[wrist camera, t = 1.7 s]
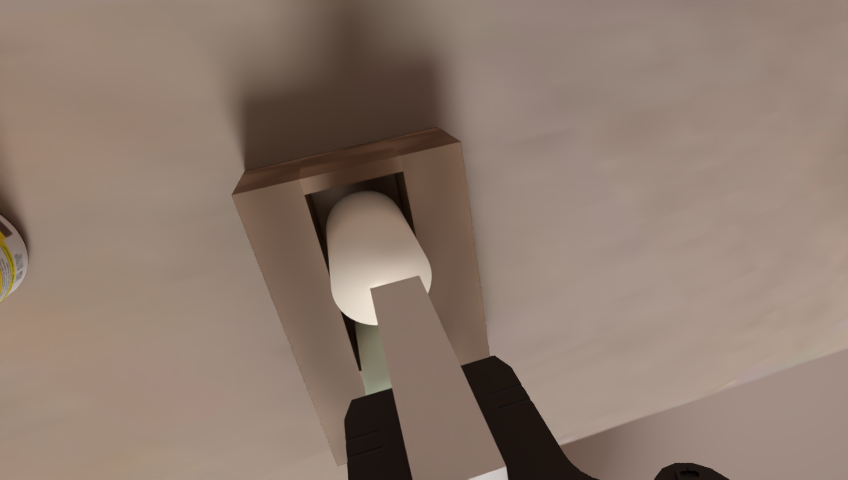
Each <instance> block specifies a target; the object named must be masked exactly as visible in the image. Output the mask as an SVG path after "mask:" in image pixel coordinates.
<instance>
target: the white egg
mask: <svg viewBox="0 0 848 480" xmlns="http://www.w3.org/2000/svg"><path fill="white" fill-rule="evenodd" d="M326 234H327V246H328V257H329V269H330V280H331V291H332V295H333V298H334V301H335V303H336V304H337V306H338V307H339V309H340V310H341V311H342V312H343V313H344V314H345V315H347V316H348V317H350V318H351V319H353V320H355V321H357V322H360V323H363V324H368V325H378V323H377V318H376V314H375V309H374V305H373V300H372V296H371V291H370V288H374V287H378V286H381V285H385V284H389V283H392V282H396V281H400V280H404V279H407V278H411V277H415V276H418V275H419V276H420V278H421V280H422V282H423V285H424V287H425V289H426V291H427V293H428V292H429V289H430V286H431V279H432V273H431V267H430V264H429V261H428V259H427V257H426V255H425V253H424V252H423V250H422V248H421V246H420V245H419V243H418V241H417V239H416V237H415V236H414V234H413V232H412V230H411V228H410V227H409V225H408V223H407V221H406V219H405V218H404V216H403V214H402V212H401V211H400V209H399V207H398V206H397V204H396V203H395V202H394V201H393V200H392V199H391V198H389V197H388V196H386V195H384V194H382V193H379V192H376V191H368V190H365V191H357V192H354V193H351V194H348V195H346V196H345V197H343V198H342V199H340V200H339V201H338V202H337V203H336V204H335V205H334V207H333V208H332V209H331V211H330V213H329V215H328V218H327V223H326Z"/></svg>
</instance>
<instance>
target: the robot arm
mask: <svg viewBox="0 0 848 480" xmlns="http://www.w3.org/2000/svg"><path fill="white" fill-rule="evenodd" d="M370 291H371V296H372V300H373V305H374V309H375V314H376V318H377V323H378V327H379V332H380V336H381V341H382V345H383V349H384V354H385V358H386V363H387V367H388V372H389V376H390V381H391V385H392V388H389V389H386V390H383V391H379V392H376V393H373V394H369V395H366V396H363V397H360V398H356V399H353V400H351V403H350V405H349V408H348V410H347V413H346V416H345V418H344V427H345V440H346V454H347V467H348V480H598V479H596V478H592V477H591V476H588V475H587V474H585V473H583V472H581V471H580V470H579V469H578V468H576V467H575V466H574V465H573V464H572V463H571V462H570V461H569V460H568V458H567V457H566V456H565V454H564V453H563V451H562V450H561V448H560V446H559V445H558V443H557V441H556V440H555V438H554V437H553V435H552V433H551V432H550V430H549V428H548V427H547V425H546V423H545V422H544V420H543V419H542V417H541V415H540V414H539V412H538V410H537V409H536V407H535V405H534V404H533V402H532V401H531V400H530V397H529V396H528V394H527V392H526V391H525V389H524V387H522V385H521V383H520V381H519V379H518V378H517V376H516V374H515V373H514V371H513V369H512V368H511V367H510V366H509V365H507V364H506V363H504V362H503V361H502V360H500V359H499V358H497V357H496V356H491V357H488V358H484V359H481V360H478V361H474V362H471V363H468V364H464V365H461V366H460V364H459V362H458V359H457V357H456V355H455V353H454V351H453V348H452V346H451V344H450V342H449V340H448V337H447V335H446V333H445V331H444V329H443V326H442V324H441V322H440V320H439V318H438V315H437V313H436V311H435V309H434V307H433V304H432V302H431V300H430V298H429V296H428V293H427V291H426V289H425V287H424V285H423V282H422V280H421V278H420V276H419V275H418V276H415V277H411V278H407V279H404V280H400V281H396V282H392V283H389V284H385V285H381V286H378V287H374V288H370ZM654 480H729V479H728V478H726V477H724V476H723V475H721V474H719V473H718V472H716V471H714V470H713V469H711V468H707V467H704V466H701V465H697V464H694V463H674V464H672V465H669V466H667V467H665V468H662V469H661V471H660V472H659V473H658V475H657V476H656V478H655V479H654Z"/></svg>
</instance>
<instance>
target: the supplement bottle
mask: <svg viewBox="0 0 848 480" xmlns="http://www.w3.org/2000/svg"><path fill="white" fill-rule="evenodd" d="M27 267H28V254H27V250H26V247H25V244H24V242H23V240H22V238H21V236H20V235H19V233H18V232H17V230H16V229H15V228H14V227H13V226H12V225H11V223H9V222H8V221H7V220H6V219H5V218H4V217H2V216H1V215H0V302H1V301H2V300H4V299H5V298H6V297H7V296H8V295H10V294H11V293H12V292H13V291H14V290H15V289H16V288H17V287H18V286H19V285H20V284H21V282H22V281H23V279H24V277H25V274H26V271H27Z"/></svg>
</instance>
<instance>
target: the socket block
mask: <svg viewBox="0 0 848 480" xmlns="http://www.w3.org/2000/svg"><path fill="white" fill-rule="evenodd" d="M365 190H368V191H376V192H379V193H382V194H384V195H386V196H388V197H389V198H391V199H392V200H393V201H394V202H395V203H396V204H397V206H398V207H399V209H400V211H401V212H402V214H403V216H404V218H405V219H406V221H407V223H408V225H409V227H410V228H411V230H412V232H413V234H414V236H415V237H416V239H417V241H418V243H419V245H420V246H421V248H422V250H423V252H424V253H425V255H426V257H427V259H428V261H429V264H430V267H431V273H432V279H431V286H430V289H429V292H428V296H429V298H430V300H431V302H432V304H433V307H434V309H435V311H436V313H437V315H438V318H439V320H440V322H441V324H442V326H443V329H444V331H445V333H446V335H447V337H448V340H449V342H450V344H451V346H452V348H453V351H454V353H455V355H456V357H457V359H458V362H459V364H460V366H461V365H464V364H468V363H471V362H474V361H478V360H481V359H484V358H488V357H490V353H489V346H488V339H487V331H486V324H485V316H484V309H483V302H482V294H481V287H480V280H479V272H478V265H477V257H476V250H475V243H474V235H473V228H472V220H471V213H470V206H469V198H468V191H467V183H466V176H465V169H464V161H463V154H462V146H461V141H459V140H457V139H456V138H454V137H452V136H451V135H449V134H447V133H446V132H444V131H443V130H441V129H439V128H438V127H437V128H432V129H428V130H424V131H419V132H415V133H410V134H406V135H401V136H397V137H393V138H388V139H384V140H379V141H375V142H371V143H366V144H362V145H357V146H353V147H349V148H344V149H340V150H335V151H331V152H327V153H322V154H318V155H313V156H309V157H305V158H300V159H296V160H291V161H287V162H282V163H278V164H274V165H269V166H265V167H260V168H256V169H252V170H247V171H244V173H243V175H242V177H241V179H240V181H239V182H238V184H237V186H236V188H235V190H234V192H233V193H232V198H233V200H234V203H235V205H236V208H237V211H238V213H239V216H240V218H241V221H242V223H243V226H244V228H245V231H246V234H247V236H248V239H249V241H250V244H251V246H252V249H253V251H254V254H255V257H256V259H257V262H258V264H259V267H260V269H261V272H262V275H263V277H264V280H265V282H266V285H267V287H268V290H269V292H270V295H271V298H272V300H273V303H274V305H275V308H276V310H277V313H278V315H279V318H280V321H281V323H282V326H283V328H284V331H285V333H286V336H287V338H288V341H289V344H290V346H291V349H292V351H293V354H294V356H295V359H296V361H297V364H298V367H299V369H300V372H301V374H302V377H303V379H304V382H305V384H306V387H307V390H308V392H309V395H310V397H311V400H312V402H313V405H314V407H315V410H316V413H317V415H318V418H319V420H320V423H321V425H322V428H323V431H324V433H325V436H326V438H327V441H328V443H329V446H330V448H331V451H332V454H333V456H334V459H335V461H336V464H337V466H340V465H343V464H346V463H347V454H346V440H345V427H344V418H345V416H346V413H347V410H348V408H349V405H350V403H351V400H353V399H356V398H360V397H363V396H366V393H365V387H364V380H363V374H362V368H361V362H360V355H359V349H358V343H357V337H356V330H355V320H353V319H351V318H350V317H348V316H347V315H345V314H344V313H343V312H342V311H341V310H340V309H339V307H338V306H337V304H336V303H335V301H334V298H333V295H332V291H331V280H330V269H329V257H328V246H327V234H326V223H327V218H328V215H329V213H330V211H331V209H332V208H333V207H334V205H335V204H336V203H337V202H338V201H339V200H340V199H342V198H343V197H345V196H346V195H348V194H351V193H354V192H357V191H365Z"/></svg>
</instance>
